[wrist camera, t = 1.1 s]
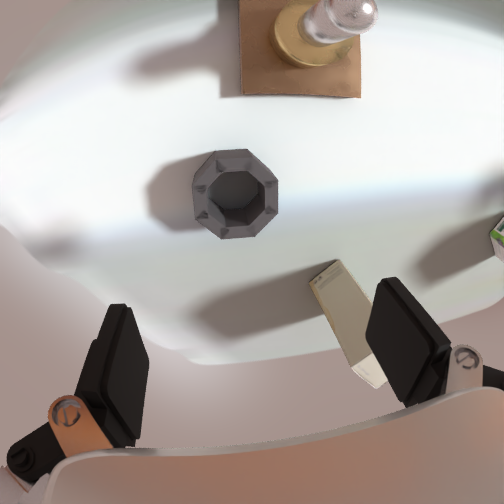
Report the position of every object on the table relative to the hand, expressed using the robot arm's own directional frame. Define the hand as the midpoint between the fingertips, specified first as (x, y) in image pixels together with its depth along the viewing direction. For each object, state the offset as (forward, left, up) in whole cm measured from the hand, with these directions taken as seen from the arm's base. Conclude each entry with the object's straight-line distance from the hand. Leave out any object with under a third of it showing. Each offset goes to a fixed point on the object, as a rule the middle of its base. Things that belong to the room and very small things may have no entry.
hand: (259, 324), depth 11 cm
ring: (0, 0, -18) cm, 18 cm away
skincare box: (-11, +12, -18) cm, 24 cm away
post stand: (-6, -13, -18) cm, 23 cm away
